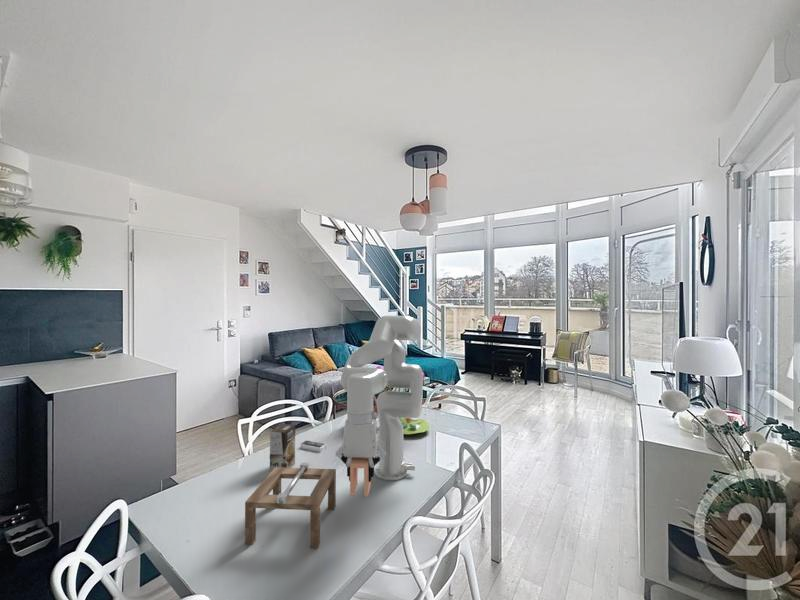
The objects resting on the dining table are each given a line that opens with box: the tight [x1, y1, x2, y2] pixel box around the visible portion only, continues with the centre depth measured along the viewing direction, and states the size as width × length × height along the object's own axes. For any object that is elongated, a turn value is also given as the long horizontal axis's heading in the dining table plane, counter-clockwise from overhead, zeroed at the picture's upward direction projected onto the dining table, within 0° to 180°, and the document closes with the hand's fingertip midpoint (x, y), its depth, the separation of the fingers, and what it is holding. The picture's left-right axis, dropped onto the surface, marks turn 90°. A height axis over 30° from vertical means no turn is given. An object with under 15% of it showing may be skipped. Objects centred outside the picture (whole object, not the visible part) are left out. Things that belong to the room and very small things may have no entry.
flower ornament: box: [375, 365, 431, 435], centre depth 184 cm, size 30×28×35 cm
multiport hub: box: [299, 440, 327, 453], centre depth 159 cm, size 4×11×2 cm, turn 68°
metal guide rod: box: [277, 462, 310, 504], centre depth 105 cm, size 2×20×2 cm, turn 176°
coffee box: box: [269, 423, 296, 473], centre depth 140 cm, size 9×6×16 cm
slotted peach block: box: [349, 457, 372, 497], centre depth 103 cm, size 5×6×9 cm
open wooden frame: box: [244, 467, 337, 550], centre depth 105 cm, size 20×20×12 cm
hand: (360, 478), depth 103 cm, fingers closed on slotted peach block, 4 cm apart
